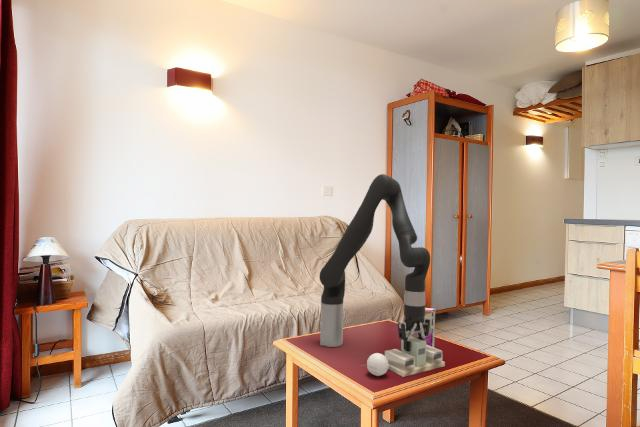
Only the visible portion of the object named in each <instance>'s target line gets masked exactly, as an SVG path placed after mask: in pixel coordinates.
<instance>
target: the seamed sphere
mask: <svg viewBox="0 0 640 427" xmlns="http://www.w3.org/2000/svg"><path fill="white" fill-rule="evenodd" d="M360 366H363V364H362V365H360ZM364 366H366V368H367V370H368V372H369V373H370V374H372V375H373V376H376V377H380V376H383V375H384V374H386V373H387V371H388V370H389V369H388V361H387V358H386V357H385V354H382V353H379V352H375V353H372V354H371V355H369V356H368V358H367V361H366V364H364Z"/></svg>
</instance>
